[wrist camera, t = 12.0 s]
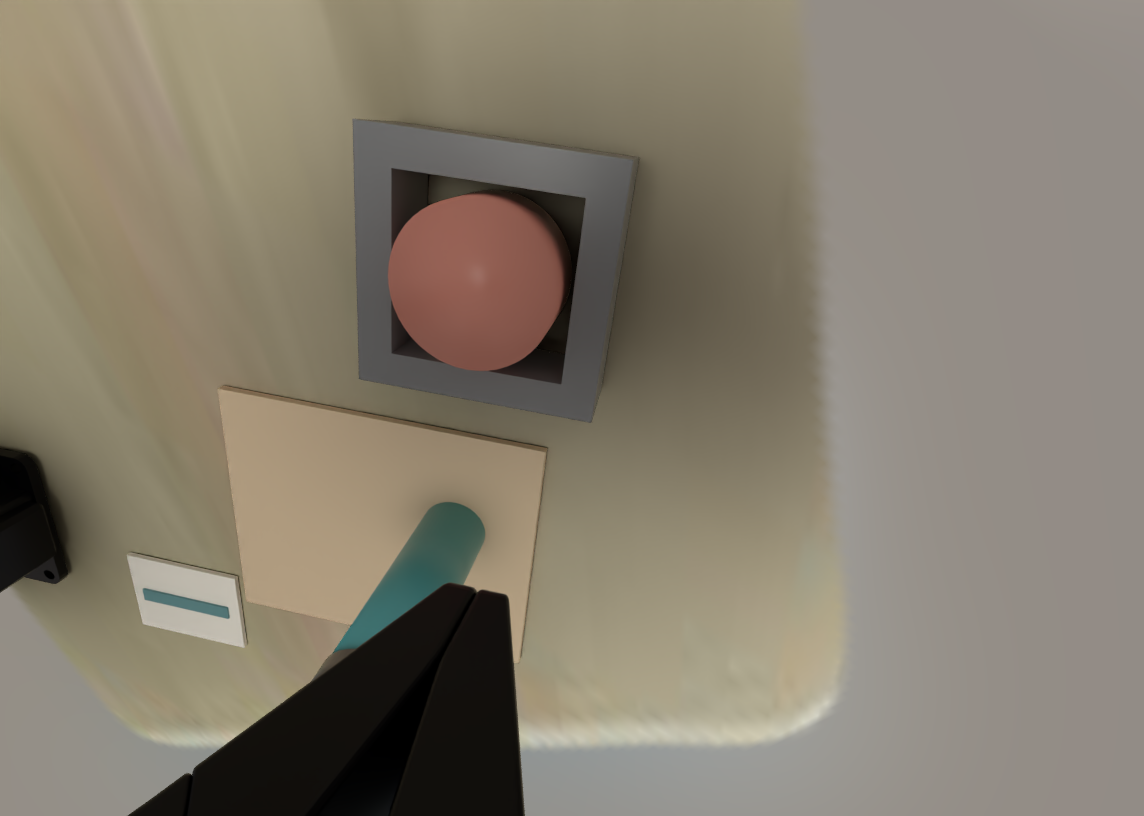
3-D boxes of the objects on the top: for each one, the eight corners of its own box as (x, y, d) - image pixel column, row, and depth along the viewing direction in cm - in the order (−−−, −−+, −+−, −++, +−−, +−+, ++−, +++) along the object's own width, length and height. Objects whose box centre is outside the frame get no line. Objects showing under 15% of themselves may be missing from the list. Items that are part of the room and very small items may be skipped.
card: (146, 621, 28) (141, 625, 27) (130, 552, 26) (124, 556, 26) (247, 644, 27) (242, 649, 27) (237, 576, 25) (232, 580, 25)
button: (423, 329, 18) (388, 355, 16) (426, 178, 17) (387, 184, 14) (562, 353, 18) (546, 384, 16) (581, 202, 16) (566, 212, 14)
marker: (421, 549, 23) (299, 745, 15) (422, 494, 22) (292, 677, 14) (484, 562, 23) (391, 768, 15) (488, 508, 22) (391, 700, 14)
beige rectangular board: (250, 596, 26) (246, 601, 26) (223, 385, 22) (217, 388, 21) (520, 657, 25) (518, 663, 24) (547, 448, 21) (545, 452, 20)
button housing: (394, 352, 20) (358, 379, 18) (395, 121, 17) (352, 118, 15) (601, 389, 19) (591, 422, 17) (639, 157, 16) (633, 160, 14)
